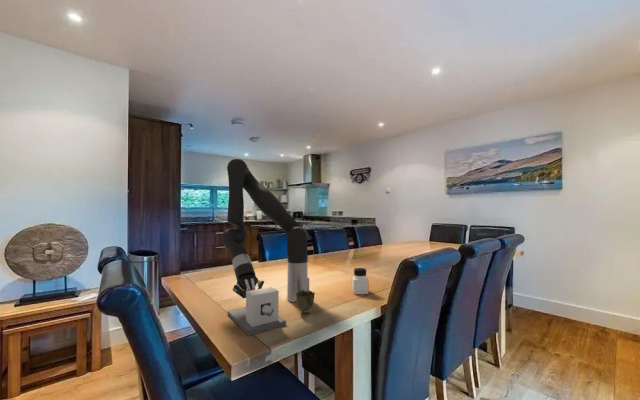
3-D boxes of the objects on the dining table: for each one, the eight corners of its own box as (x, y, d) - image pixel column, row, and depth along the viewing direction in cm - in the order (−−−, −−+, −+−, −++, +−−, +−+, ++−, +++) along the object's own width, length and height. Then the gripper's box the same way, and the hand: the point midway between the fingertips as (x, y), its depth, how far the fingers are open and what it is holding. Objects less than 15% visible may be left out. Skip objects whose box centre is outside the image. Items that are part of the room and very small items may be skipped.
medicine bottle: (368, 294, 135) (368, 269, 135) (353, 294, 135) (353, 269, 136) (366, 290, 142) (366, 266, 143) (352, 290, 142) (352, 266, 143)
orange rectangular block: (263, 312, 106) (263, 289, 106) (277, 322, 96) (277, 296, 97) (248, 316, 102) (248, 291, 102) (261, 327, 93) (261, 299, 93)
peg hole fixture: (260, 307, 117) (261, 278, 118) (286, 325, 100) (286, 291, 100) (227, 314, 109) (227, 283, 110) (248, 335, 91) (248, 298, 92)
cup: (307, 317, 106) (307, 296, 107) (292, 313, 110) (292, 293, 110) (318, 311, 113) (318, 291, 113) (303, 308, 116) (303, 288, 117)
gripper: (229, 264, 109) (240, 304, 99) (260, 260, 117) (273, 297, 107) (225, 275, 114) (235, 314, 103) (255, 271, 121) (267, 307, 111)
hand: (254, 305), depth 105 cm, fingers closed
